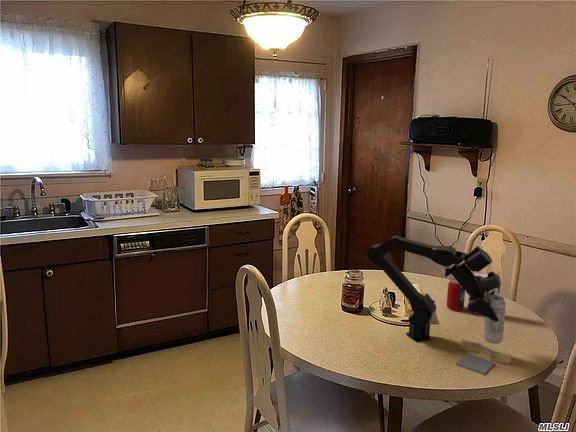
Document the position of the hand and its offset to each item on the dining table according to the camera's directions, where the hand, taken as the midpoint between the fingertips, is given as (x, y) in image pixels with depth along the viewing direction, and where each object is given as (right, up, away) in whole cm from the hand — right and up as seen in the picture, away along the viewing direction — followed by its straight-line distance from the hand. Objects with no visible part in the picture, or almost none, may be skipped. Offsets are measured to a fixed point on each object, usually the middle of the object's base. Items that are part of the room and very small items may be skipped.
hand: (499, 317), depth 156 cm
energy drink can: (-1, -8, +2) cm, 8 cm away
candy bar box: (+10, -6, +37) cm, 39 cm away
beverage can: (0, -5, +42) cm, 42 cm away
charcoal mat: (-9, -14, -3) cm, 17 cm away
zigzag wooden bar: (-4, -13, +2) cm, 14 cm away
